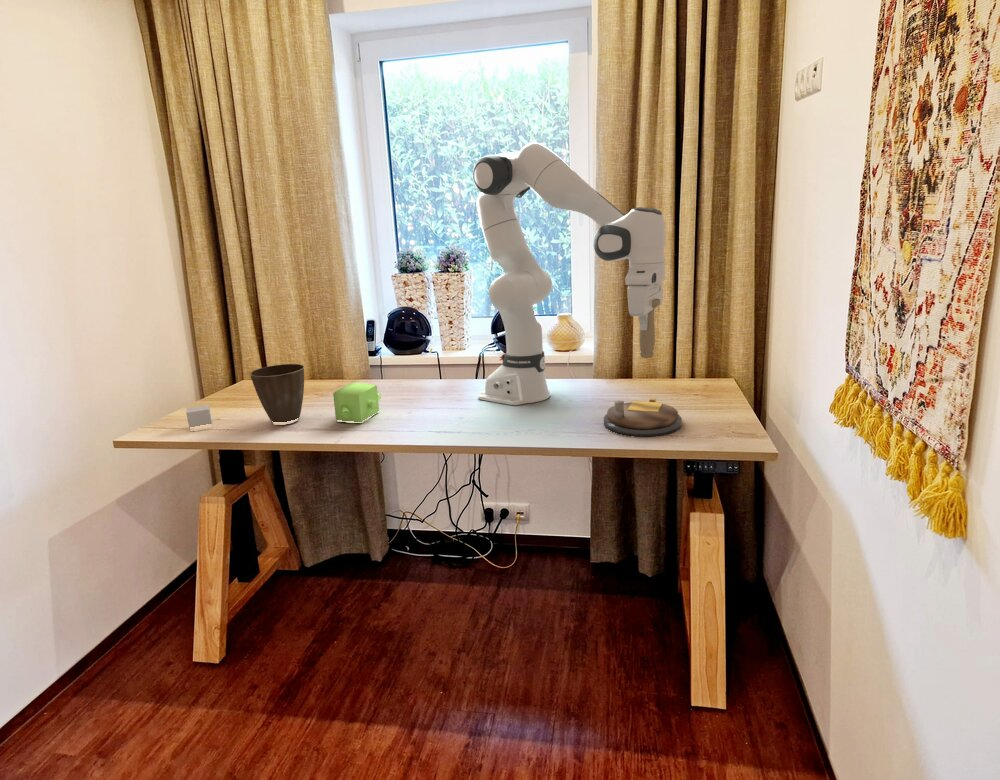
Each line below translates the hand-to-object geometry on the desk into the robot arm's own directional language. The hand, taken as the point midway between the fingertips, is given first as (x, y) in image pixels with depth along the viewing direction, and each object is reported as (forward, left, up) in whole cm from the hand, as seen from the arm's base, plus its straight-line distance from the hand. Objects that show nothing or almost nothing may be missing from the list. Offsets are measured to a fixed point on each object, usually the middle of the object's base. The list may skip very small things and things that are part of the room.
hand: (646, 328), depth 161 cm
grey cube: (-121, -45, -25) cm, 132 cm away
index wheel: (0, -4, -23) cm, 23 cm away
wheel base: (0, -4, -25) cm, 25 cm away
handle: (0, 0, -8) cm, 8 cm away
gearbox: (-78, -24, -25) cm, 86 cm away
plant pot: (-99, -33, -25) cm, 107 cm away
